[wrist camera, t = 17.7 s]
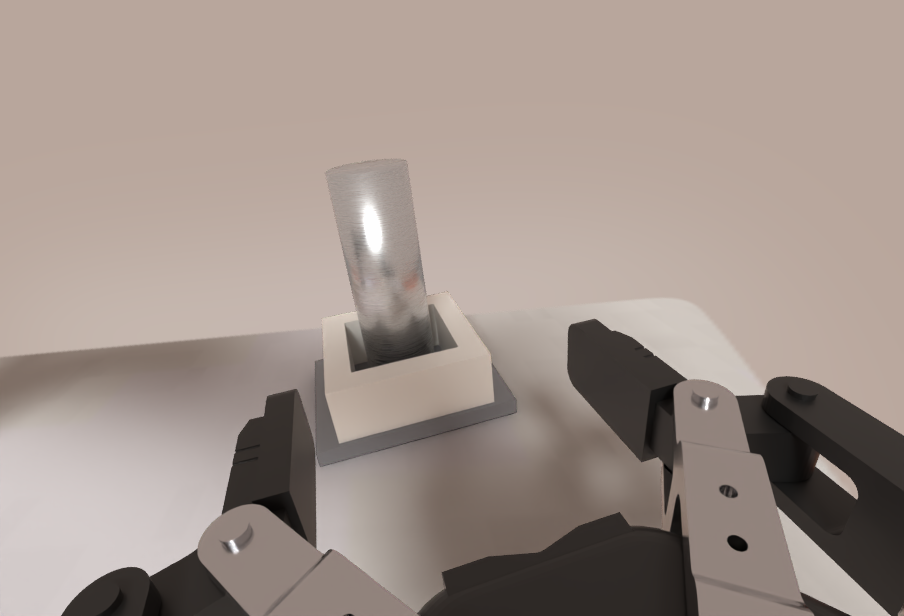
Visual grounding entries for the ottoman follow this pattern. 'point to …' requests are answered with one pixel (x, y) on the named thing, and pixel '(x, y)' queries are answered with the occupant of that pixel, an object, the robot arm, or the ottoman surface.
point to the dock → (403, 387)
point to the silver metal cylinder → (382, 258)
